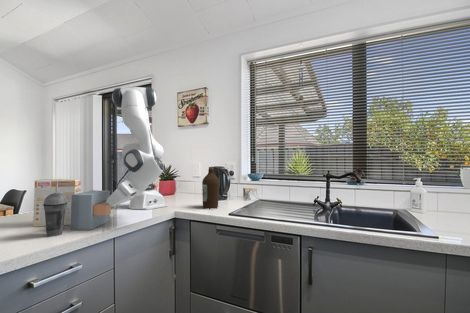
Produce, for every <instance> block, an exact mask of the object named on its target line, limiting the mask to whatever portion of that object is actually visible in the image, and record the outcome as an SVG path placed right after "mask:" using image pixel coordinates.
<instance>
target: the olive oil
mask: <svg viewBox="0 0 470 313" xmlns="http://www.w3.org/2000/svg"><path fill="white" fill-rule="evenodd" d="M214 169H215V166H214V167H213V166H208V170H207V171H208V173H207V174H206V175H205V176H204V177H203V179H202V181H201V188H202V189H201V190H202V192H201V193H202V209H205V208H209V209H208V210H211V209H210V208H216V209H218V208H219V198H220V197H219V196H220V195H219V194H220V178H218V176H217V175H216V174H215V170H214ZM217 207H218V208H217Z"/></svg>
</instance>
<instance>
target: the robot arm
mask: <svg viewBox="0 0 470 313" xmlns="http://www.w3.org/2000/svg"><path fill="white" fill-rule="evenodd" d="M111 100H112V102H113V104H114V106H116V108H120V109H121V118H122V123H123V124H124V125H125V126H126V128H128V129H129V132H130V134H131V136H133V137H134V138H136V139H137V141H138V142H131V143H130V142H129V143H126V144H124V146H123V147H122V151H121V154H122V156H123V165H124V167H126V168H127V169H128V170H130V172H131V175H130V176H129V177H128V178H127V179H126V180H124V181H123V182H121V183H120V184H118V187H117V188H116V189H115V190H114V191H113V192H112V193H111V194H110V196H109V198H108V199H107V201H106V202H107V203H108V204H109V205H110V206H111V209H113V210H114V209H117V208H118V207H119V206H120V205H121V204H124V203H126V202H128V201H129V203H128V204H129V205H128V209H130V210H131V209H132V210H147V211H148V210H154V209H159V208H164V207H168V206H169V204H168V203H167V202H165V198H164V195H163V194H162V193H160V192H159V191H157V190H156V189H155V188H158V184H156V183H155V184H154V182H155V181H156V180H157V179H158V178H159V177H160V176H161V174H162V173H163V171H165V170H164V169H165V166H164V163H163V161H162V160H161V159H163V156H164V154H165V150H164V147H163V145H161V144H160V143H159V142H158V141H157V140H156V139H155V137H154V135H153V133H152V131H151V126H150V125H151V124H150V118H149V112H148V109H149V110H151V108H152V107H153V108H154V107H155V105H156V103H157V95H156V92H155V90H154V89H153V88H152V87H141V86H132V87H129V86H128V87H122V88H121V87H116V88H115V89H114V90H112V94H111Z"/></svg>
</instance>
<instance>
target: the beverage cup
mask: <svg viewBox="0 0 470 313" xmlns="http://www.w3.org/2000/svg"><path fill="white" fill-rule="evenodd" d="M57 190H58V181H57V182H56V193H53V194H50V195H49V196H47V197H46V199H45V200H44V204H43V205H44V211H45V221H46V226H45V232H46V237H57V236H58V237H59V236H61V235H62V234H63V230H64V225H63V224H64V217H65V210H66V207H67V199H66V197H65V196H64V195H63V194H61V193H57Z"/></svg>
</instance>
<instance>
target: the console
mask: <svg viewBox="0 0 470 313" xmlns="http://www.w3.org/2000/svg"><path fill="white" fill-rule="evenodd" d="M110 193H111V190H94V189H93V190H88V191H83V192H81V193H78V194H73V195H72V203H71V225H70V230H71V231H77V230H79V231H80V230H81V231H87V230H88V231H91V230H93V229H95V228H97V227H99V226H101V225H103V224H105V223H107V222H109V221H110V214H108V215H93V205H95V204H103V202H104V201H107V199H108V198H109V196H110V195H111V194H110Z"/></svg>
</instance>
